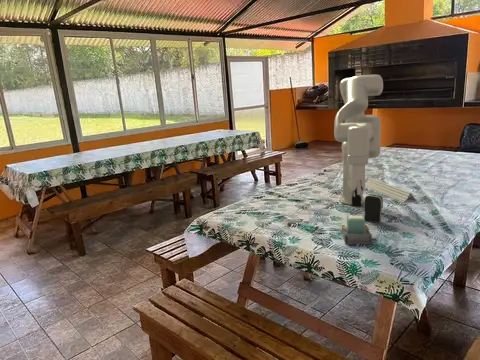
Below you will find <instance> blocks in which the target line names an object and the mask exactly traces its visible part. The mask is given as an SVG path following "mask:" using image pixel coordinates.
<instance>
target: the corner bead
mask: <svg viewBox="0 0 480 360" xmlns="http://www.w3.org/2000/svg"><path fill="white" fill-rule="evenodd" d="M365 188H367V189H370V190H372V191H375V192H376V193H379V194H382V195H385V196H387V197H389V198H392V199H394V200H396V201H400V202H401V203H405V202H406V201H407V200H408V198H409V199H413V200H414V201H417V198H416V197H415V196H414V195H413V193H412V192H410V191H408V190H404V189H402V188H399V187H398V186H397V187H396V186H394V185H391V184H387V183H385V182H384V181H381V180H380V181H379V180H377V179H374V178H372V177H369V178H368V180H367V181H366V183H365Z"/></svg>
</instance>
